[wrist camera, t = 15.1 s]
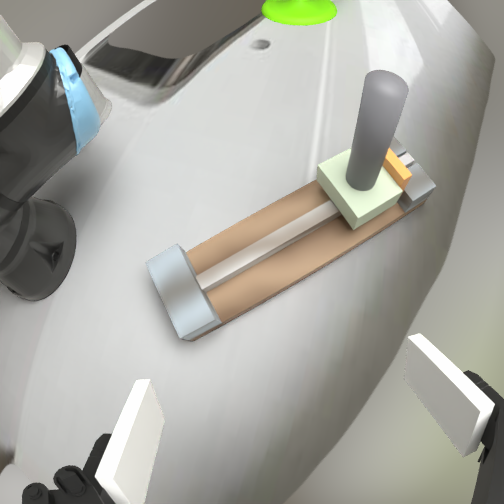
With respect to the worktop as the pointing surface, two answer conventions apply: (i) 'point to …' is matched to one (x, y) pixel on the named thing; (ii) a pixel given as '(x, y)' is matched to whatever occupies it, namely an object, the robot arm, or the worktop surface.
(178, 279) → the rail base
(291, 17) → the wineglass
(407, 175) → the orange block
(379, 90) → the carriage
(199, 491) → the worktop surface
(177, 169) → the worktop surface
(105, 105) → the glass holder
